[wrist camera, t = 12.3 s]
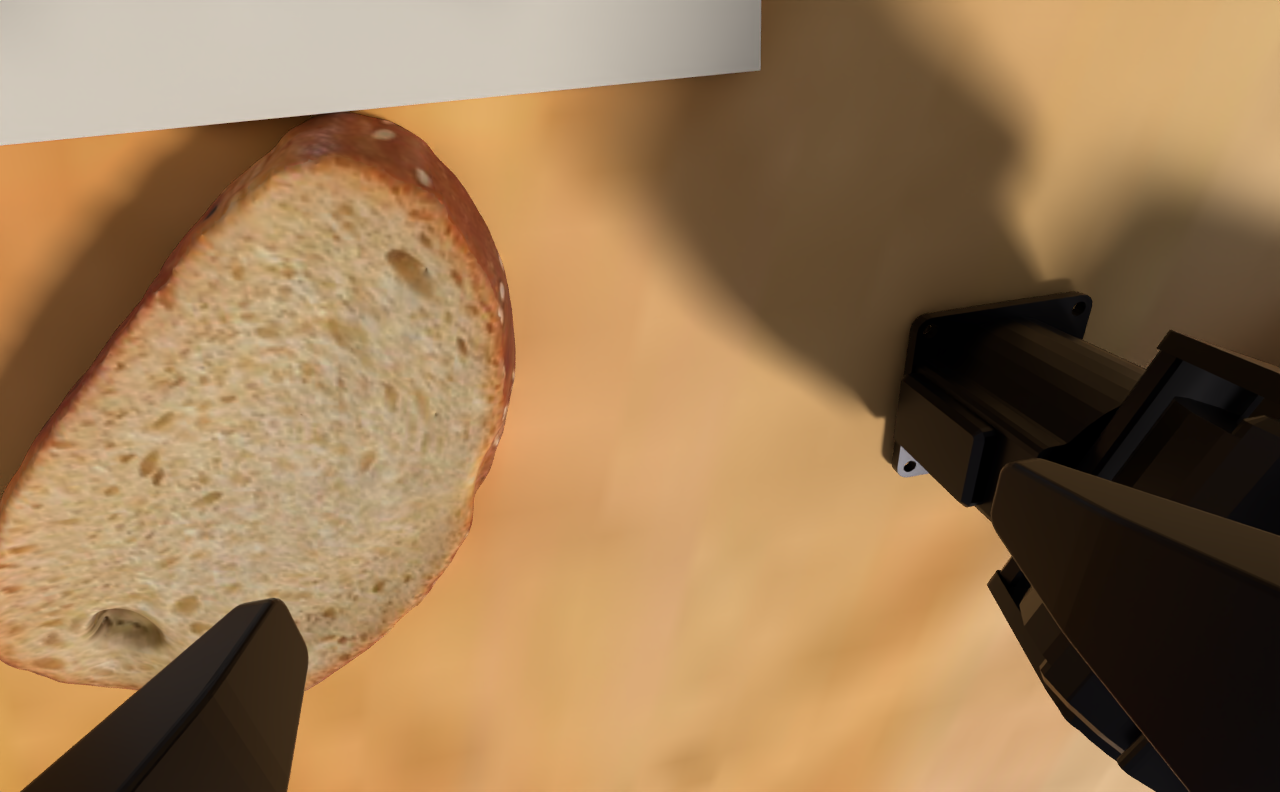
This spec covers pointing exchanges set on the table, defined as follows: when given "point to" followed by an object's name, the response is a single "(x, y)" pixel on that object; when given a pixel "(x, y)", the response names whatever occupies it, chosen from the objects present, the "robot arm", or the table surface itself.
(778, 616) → the table surface
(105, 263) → the table surface
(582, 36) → the light grey flat slab
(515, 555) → the table surface
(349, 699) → the table surface
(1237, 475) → the robot arm
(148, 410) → the bread slice
